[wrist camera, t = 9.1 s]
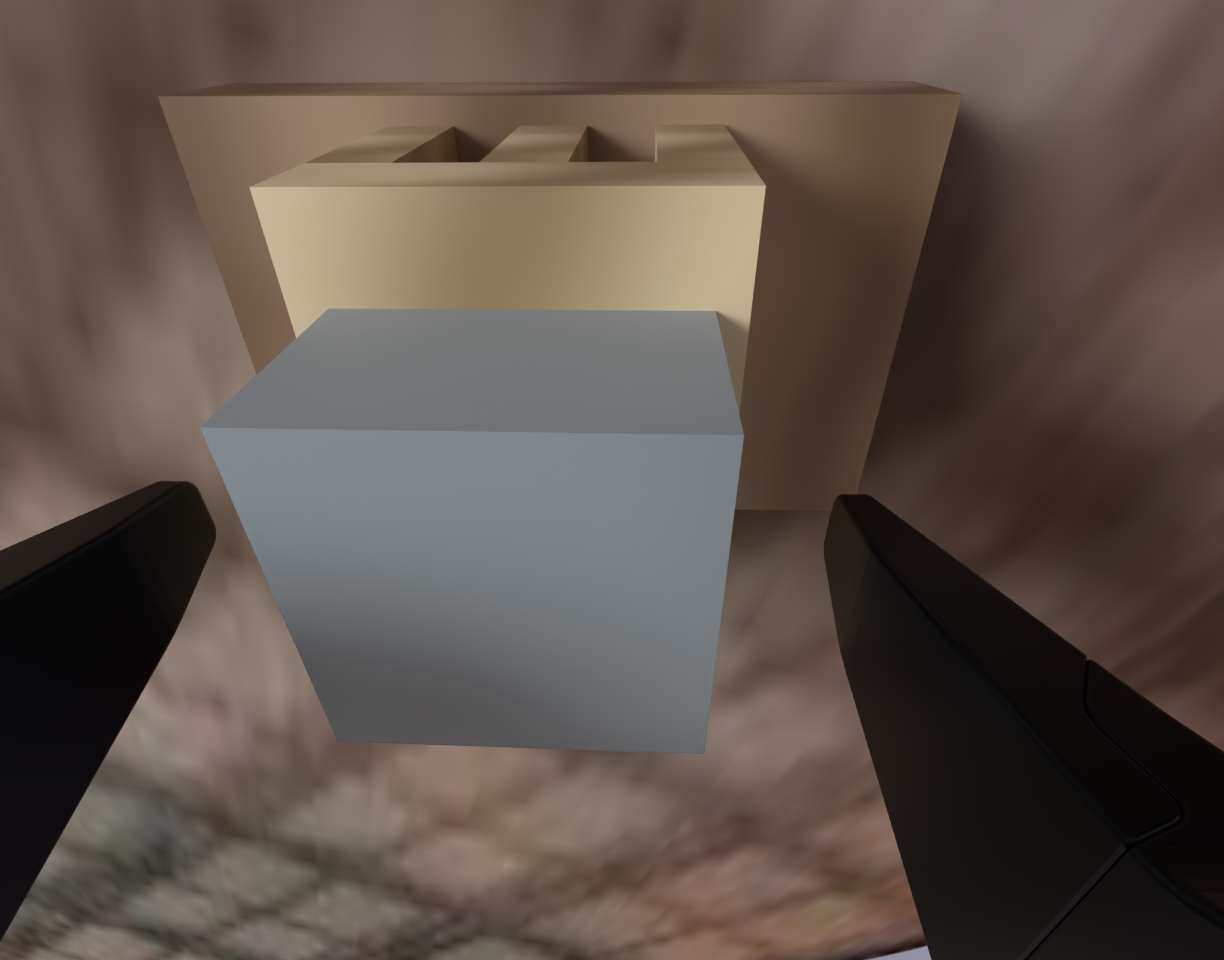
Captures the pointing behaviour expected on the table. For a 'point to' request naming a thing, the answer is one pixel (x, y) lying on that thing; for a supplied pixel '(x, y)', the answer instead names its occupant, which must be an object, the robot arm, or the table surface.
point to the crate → (496, 520)
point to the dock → (625, 132)
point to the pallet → (520, 227)
